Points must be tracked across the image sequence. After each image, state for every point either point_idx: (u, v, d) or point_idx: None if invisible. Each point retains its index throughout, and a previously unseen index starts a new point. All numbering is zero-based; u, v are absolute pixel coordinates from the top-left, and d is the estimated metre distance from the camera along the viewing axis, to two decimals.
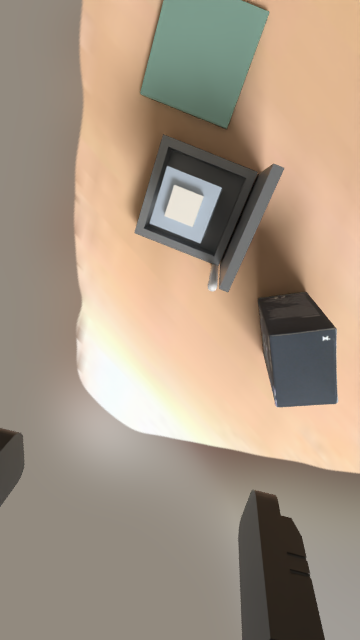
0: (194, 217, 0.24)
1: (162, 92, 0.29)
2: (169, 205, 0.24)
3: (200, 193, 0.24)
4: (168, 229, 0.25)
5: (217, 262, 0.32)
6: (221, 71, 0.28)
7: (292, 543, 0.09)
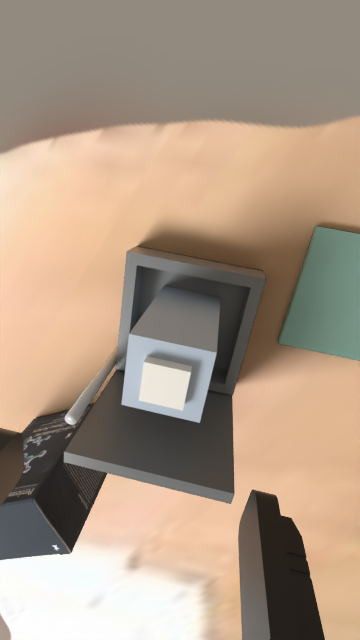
0: (152, 401, 0.16)
1: (317, 258, 0.21)
2: (160, 368, 0.15)
3: (187, 399, 0.16)
4: (128, 361, 0.16)
5: (119, 367, 0.25)
6: (340, 328, 0.23)
7: (292, 543, 0.09)
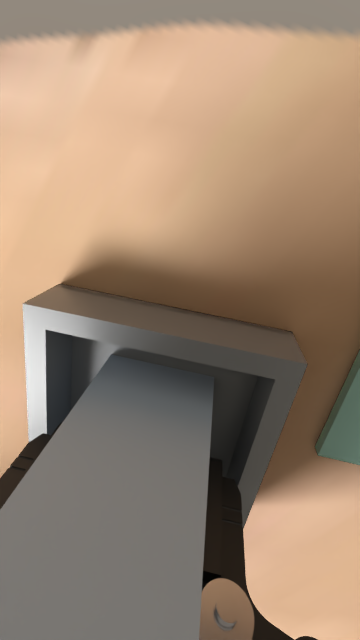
0: None
1: None
2: None
3: None
4: None
5: None
6: None
7: (231, 499, 0.09)
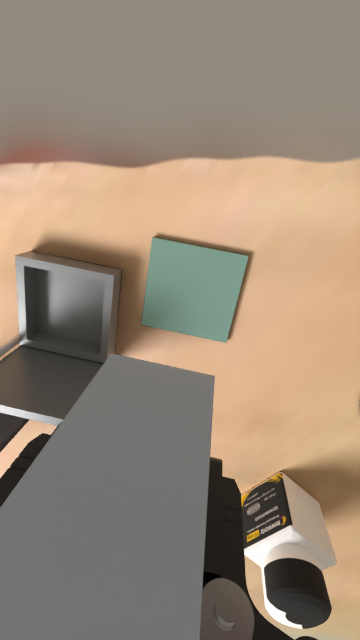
0: None
1: (156, 260, 0.29)
2: None
3: None
4: None
5: (22, 343, 0.32)
6: (181, 312, 0.31)
7: (231, 499, 0.09)
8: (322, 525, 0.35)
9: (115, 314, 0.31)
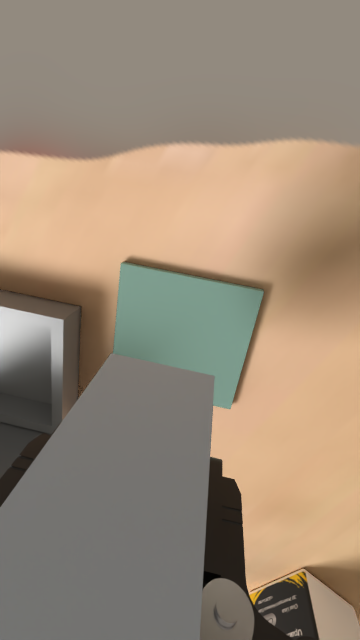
0: None
1: (128, 296, 0.20)
2: None
3: None
4: None
5: None
6: None
7: (231, 499, 0.09)
8: None
9: (73, 368, 0.22)
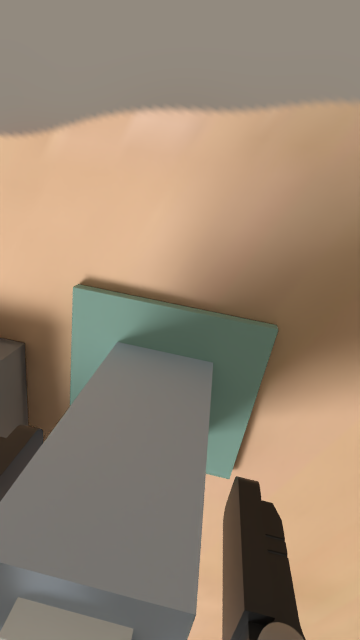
0: None
1: (86, 332, 0.14)
2: None
3: None
4: None
5: None
6: None
7: (272, 526, 0.09)
8: None
9: (17, 425, 0.16)
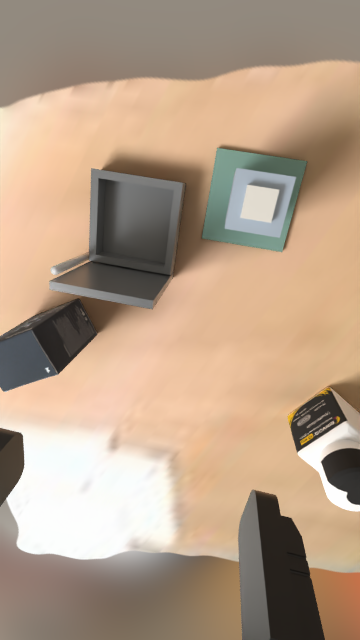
0: (250, 218, 0.24)
1: (220, 171, 0.31)
2: (258, 188, 0.23)
3: (272, 218, 0.24)
4: (233, 191, 0.24)
5: (91, 259, 0.35)
6: None
7: (292, 543, 0.09)
8: None
9: (178, 227, 0.34)
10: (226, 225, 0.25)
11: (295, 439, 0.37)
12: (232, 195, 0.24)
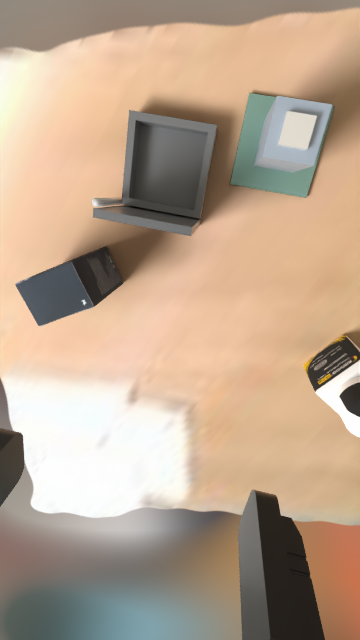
0: (287, 144, 0.26)
1: (251, 116, 0.33)
2: (297, 114, 0.25)
3: (308, 145, 0.26)
4: (272, 119, 0.26)
5: (124, 202, 0.36)
6: (268, 169, 0.35)
7: (292, 543, 0.09)
8: None
9: (208, 172, 0.35)
10: (264, 153, 0.27)
11: (312, 381, 0.40)
12: (271, 123, 0.26)
